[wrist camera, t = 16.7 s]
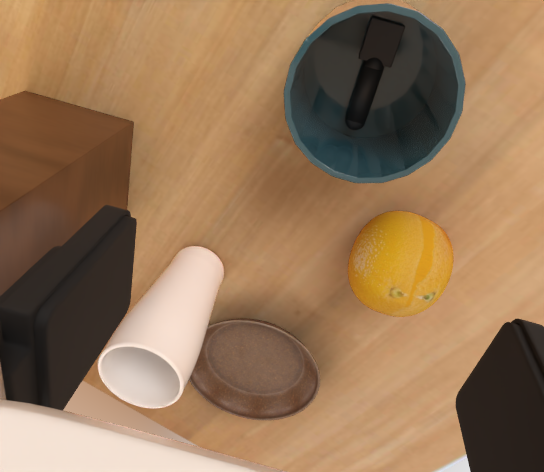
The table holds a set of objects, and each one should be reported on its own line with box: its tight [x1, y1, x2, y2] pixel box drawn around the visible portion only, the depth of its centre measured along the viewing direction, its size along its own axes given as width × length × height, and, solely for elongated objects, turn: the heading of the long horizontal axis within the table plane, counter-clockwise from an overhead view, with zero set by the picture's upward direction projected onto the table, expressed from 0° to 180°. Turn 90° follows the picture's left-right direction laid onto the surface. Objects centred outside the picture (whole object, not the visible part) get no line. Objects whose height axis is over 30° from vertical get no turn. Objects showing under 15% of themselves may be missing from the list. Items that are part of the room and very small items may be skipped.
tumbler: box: [284, 0, 466, 183], centre depth 31 cm, size 10×10×9 cm
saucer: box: [189, 319, 320, 420], centre depth 51 cm, size 15×15×3 cm
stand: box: [0, 91, 133, 296], centre depth 34 cm, size 10×10×20 cm
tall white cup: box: [98, 246, 224, 408], centre depth 40 cm, size 7×7×15 cm
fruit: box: [348, 211, 453, 317], centre depth 38 cm, size 9×8×8 cm
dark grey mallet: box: [345, 16, 405, 130], centre depth 34 cm, size 8×2×2 cm, turn 167°
